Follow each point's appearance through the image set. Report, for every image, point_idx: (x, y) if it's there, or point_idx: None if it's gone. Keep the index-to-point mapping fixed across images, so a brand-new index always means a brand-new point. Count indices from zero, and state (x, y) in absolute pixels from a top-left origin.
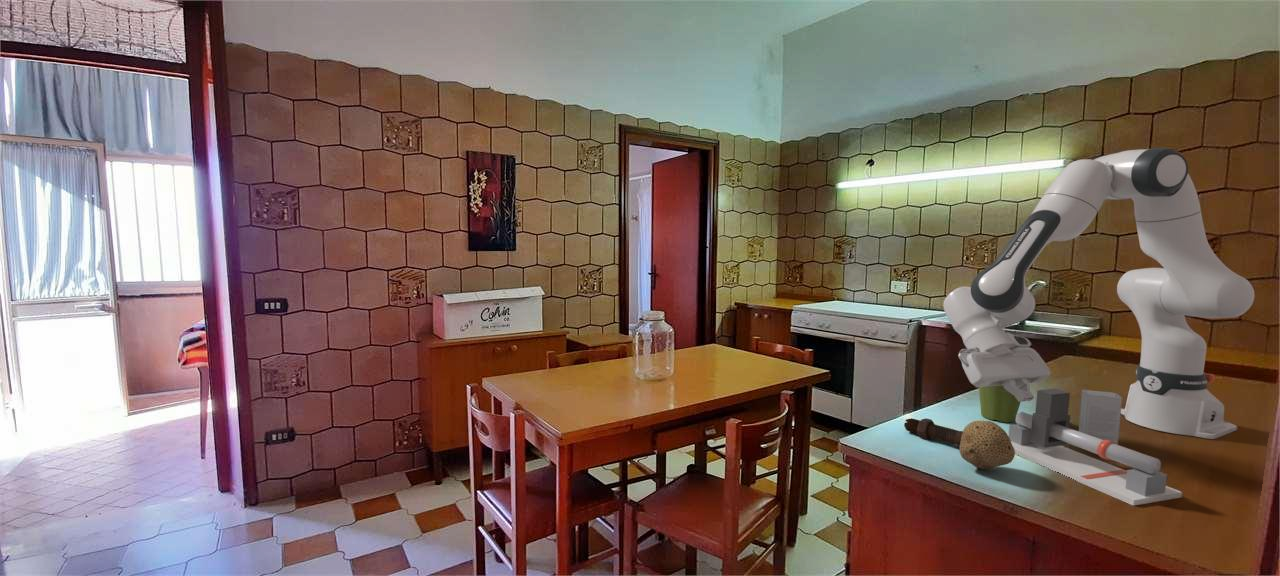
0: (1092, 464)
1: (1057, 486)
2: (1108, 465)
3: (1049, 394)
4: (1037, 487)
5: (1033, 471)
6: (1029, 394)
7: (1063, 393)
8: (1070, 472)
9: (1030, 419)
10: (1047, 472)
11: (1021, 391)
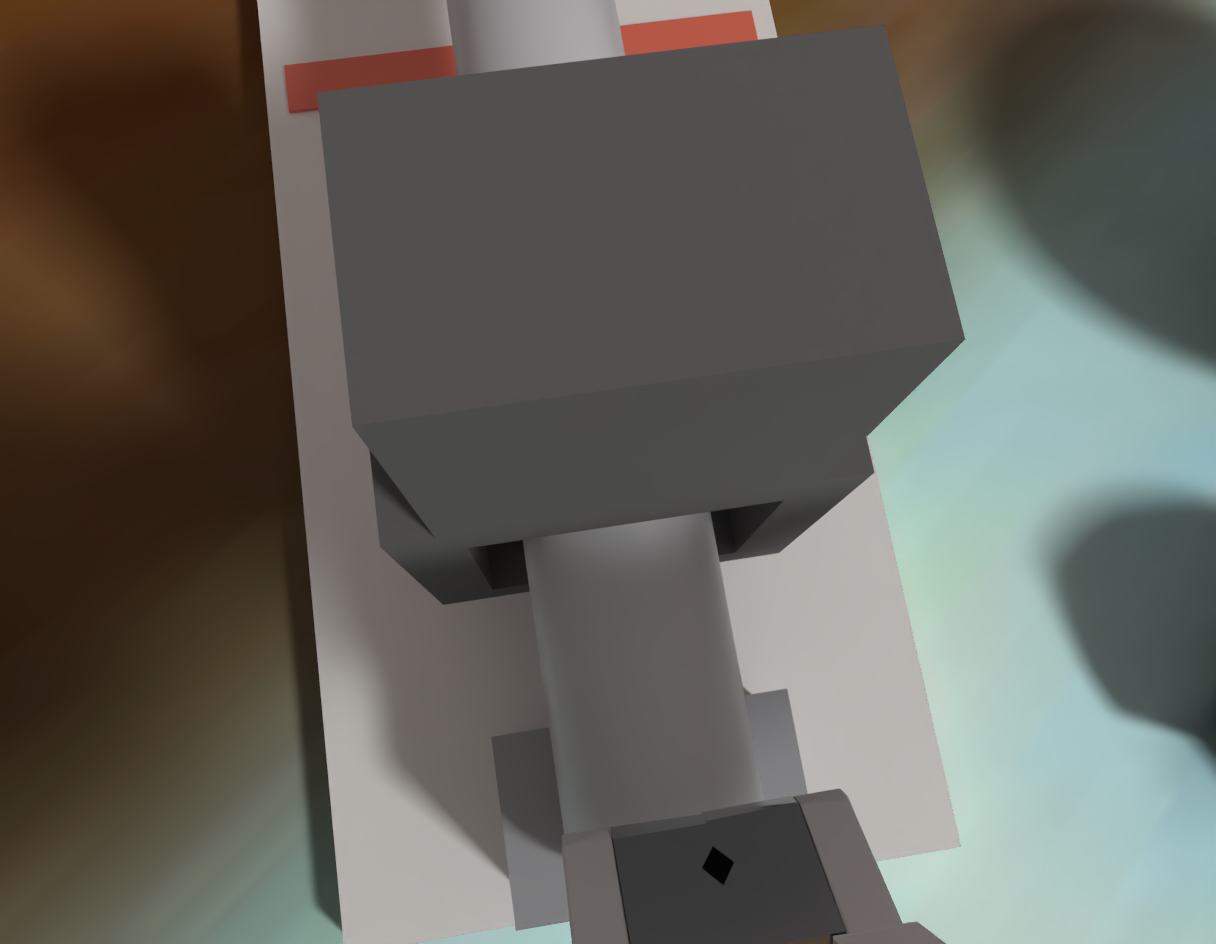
0: None
1: (992, 38)
2: (315, 198)
3: (895, 73)
4: (1154, 40)
5: (985, 264)
6: (650, 878)
7: (527, 67)
8: None
9: (721, 660)
10: None
11: (848, 928)
